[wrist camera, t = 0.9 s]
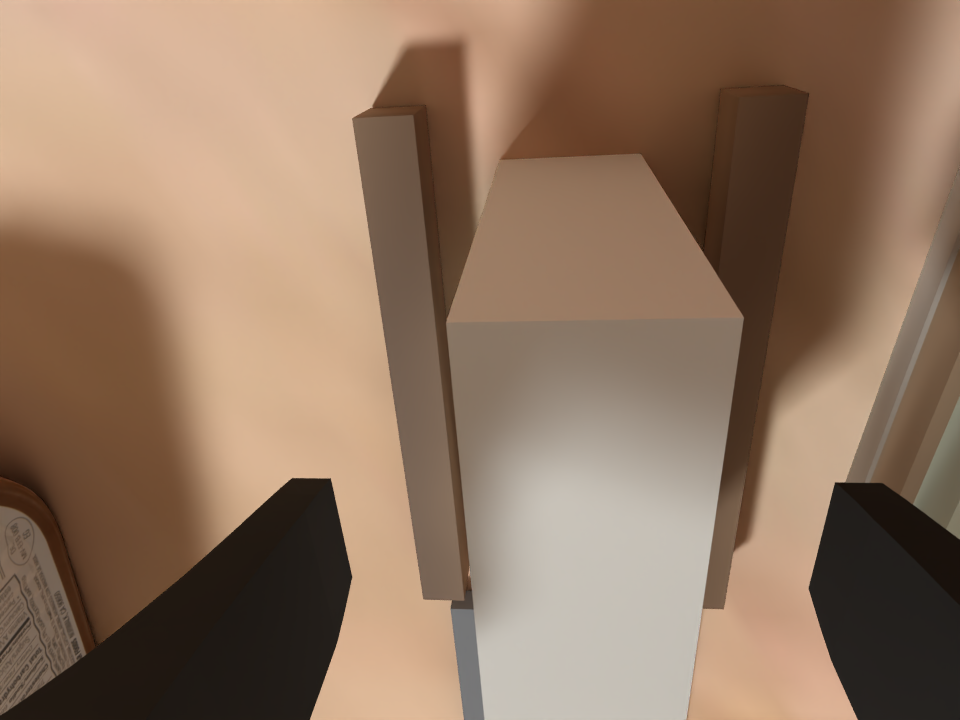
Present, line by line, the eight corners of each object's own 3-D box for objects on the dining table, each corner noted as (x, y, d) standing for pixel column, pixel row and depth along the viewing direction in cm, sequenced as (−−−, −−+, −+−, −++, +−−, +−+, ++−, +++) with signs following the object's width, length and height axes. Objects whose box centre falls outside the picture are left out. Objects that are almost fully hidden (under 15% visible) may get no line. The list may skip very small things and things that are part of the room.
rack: (1353, 53, 10) (1450, 58, 9) (1079, 578, 15) (1119, 621, 14) (369, 107, 11) (352, 118, 10) (431, 562, 17) (423, 599, 16)
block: (639, 152, 11) (744, 316, 5) (619, 533, 16) (664, 868, 10) (499, 158, 12) (446, 322, 6) (517, 531, 16) (497, 855, 10)
